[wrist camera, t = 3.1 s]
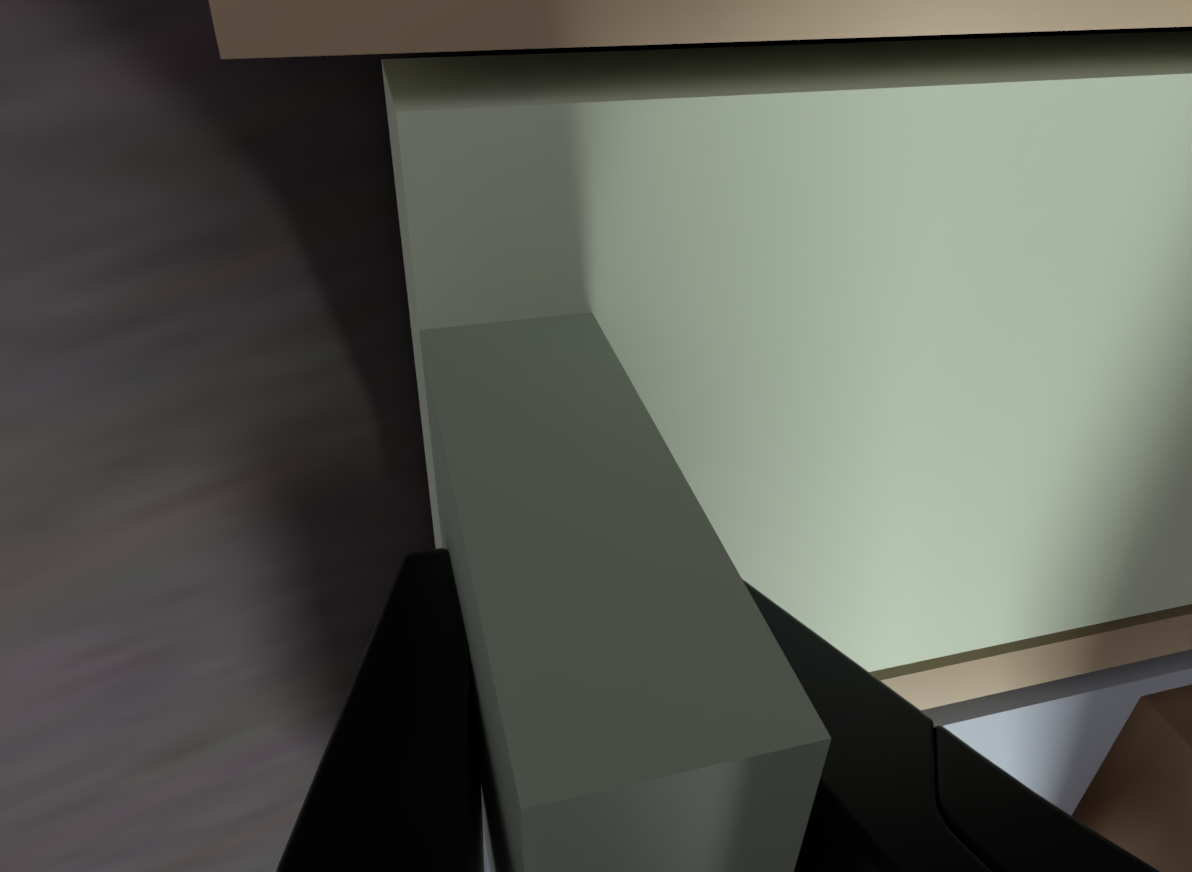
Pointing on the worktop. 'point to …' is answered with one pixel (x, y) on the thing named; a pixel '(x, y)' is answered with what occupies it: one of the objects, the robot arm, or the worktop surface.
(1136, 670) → the blue-grey tray
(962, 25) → the board
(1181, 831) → the walnut cube
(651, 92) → the pale green tray
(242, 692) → the worktop surface
